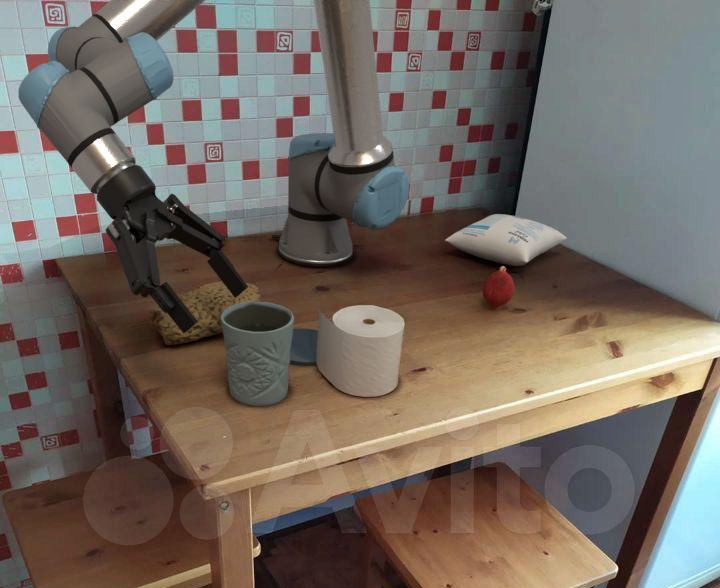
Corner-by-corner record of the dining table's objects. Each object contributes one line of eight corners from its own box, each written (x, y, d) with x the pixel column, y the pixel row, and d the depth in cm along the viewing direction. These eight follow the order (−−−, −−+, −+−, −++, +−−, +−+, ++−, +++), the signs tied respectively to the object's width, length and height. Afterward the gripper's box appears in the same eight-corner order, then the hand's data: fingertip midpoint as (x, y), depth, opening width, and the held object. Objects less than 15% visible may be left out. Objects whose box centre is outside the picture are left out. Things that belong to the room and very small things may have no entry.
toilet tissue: (405, 396, 114) (413, 335, 108) (327, 400, 111) (330, 338, 105) (388, 361, 122) (395, 303, 116) (315, 364, 120) (317, 305, 114)
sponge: (176, 363, 119) (286, 316, 126) (158, 317, 115) (273, 271, 121) (151, 341, 129) (254, 299, 136) (134, 298, 125) (241, 257, 131)
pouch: (493, 199, 170) (448, 216, 156) (571, 224, 162) (532, 244, 148) (485, 234, 174) (441, 254, 161) (561, 260, 167) (522, 282, 153)
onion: (509, 316, 139) (518, 275, 134) (478, 312, 140) (486, 270, 135) (510, 304, 144) (519, 263, 139) (480, 299, 145) (488, 259, 140)
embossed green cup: (237, 414, 107) (235, 336, 99) (214, 380, 114) (210, 305, 106) (303, 400, 111) (305, 325, 103) (277, 368, 118) (277, 296, 110)
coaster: (255, 353, 121) (255, 350, 121) (288, 325, 130) (288, 322, 129) (321, 371, 118) (321, 368, 118) (350, 342, 127) (350, 338, 126)
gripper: (155, 175, 113) (245, 292, 119) (38, 221, 95) (151, 357, 100) (183, 143, 109) (275, 266, 114) (66, 185, 90) (182, 330, 95)
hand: (217, 309), depth 107 cm, fingers open, 13 cm apart
